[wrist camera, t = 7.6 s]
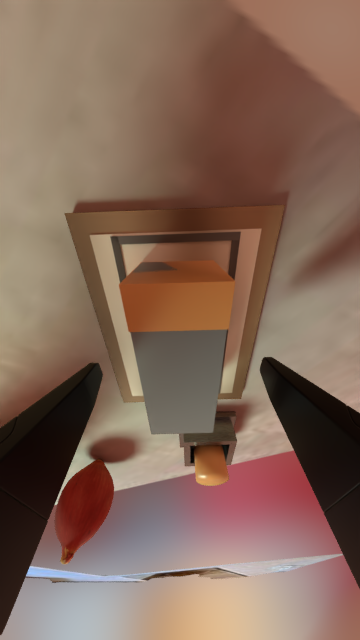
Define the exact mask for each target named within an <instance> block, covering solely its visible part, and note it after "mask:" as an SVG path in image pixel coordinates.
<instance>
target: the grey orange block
mask: <svg viewBox="0 0 360 640" xmlns="http://www.w3.org/2000/svg"><path fill="white" fill-rule="evenodd" d="M234 288H235V280H233V279H232V278H231V277H230V276H229V275H228V274H227V273H226V272H225V271H224V270H223V269H222V268H221V267H220V266H219V265H218V264H217V263H216V262H215V261H214V260H204V261H168V262H141V263H140V264H139V265H138V266H137V267H136V268H135V269H134V270H133V271H132V272H131V273H130V274H129V275H128V276H127V277H126V278H125V279H124V280H123V281H122V282H121V283H120V284H119V289H120V293H121V298H122V303H123V308H124V312H125V317H126V322H127V326H128V331H129V332H130V333H131V338H132V342H133V347H134V352H135V357H136V362H137V367H138V372H139V376H140V381H141V386H142V391H143V396H144V401H145V406H146V410H147V415H148V420H149V425H150V430H151V434H182V433H213V429H214V421H215V414H216V407H217V399H218V392H219V385H220V377H221V370H222V363H223V355H224V348H225V341H226V333H227V329H229V324H230V317H231V310H232V302H233V295H234Z"/></svg>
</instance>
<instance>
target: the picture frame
mask: <svg viewBox="0 0 360 640" xmlns="http://www.w3.org/2000/svg"><path fill="white" fill-rule="evenodd" d="M284 208H285V205H268V206H242V207H216V208H190V209H164V210H138V211H112V212H86V213H65V216H66V220H67V223H68V226H69V229H70V232H71V235H72V239H73V242H74V245H75V248H76V251H77V255H78V258H79V261H80V264H81V267H82V271H83V274H84V277H85V280H86V283H87V287H88V290H89V293H90V296H91V299H92V303H93V306H94V309H95V312H96V315H97V318H98V322H99V325H100V328H101V331H102V334H103V338H104V341H105V344H106V347H107V350H108V354H109V357H110V360H111V363H112V366H113V370H114V373H115V376H116V379H117V382H118V385H119V389H120V392H121V395H122V398H123V401H124V402H145V401H144V396H143V391H142V386H141V381H140V376H139V372H138V367H137V362H136V357H135V352H134V347H133V342H132V338H131V333H130V332H129V331H128V326H127V322H126V317H125V312H124V308H123V303H122V298H121V293H120V289H119V284H120V283H121V282H122V281H123V280H124V279H125V278H126V277H127V276H128V275H129V274H130V273H131V272H132V271H133V270H134V269H135V268H136V267H137V266H138V265H139V264H140V263H141V262H168V261H204V260H214V261H215V262H216V263H217V264H218V265H219V266H220V267H221V268H222V269H223V270H224V271H225V272H226V273H227V274H228V275H229V276H230V277H231V278H232V279H233V280H235V288H234V295H233V302H232V310H231V317H230V324H229V329H227V333H226V341H225V348H224V355H223V363H222V370H221V377H220V385H219V392H218V399H241V397H242V392H243V388H244V384H245V379H246V375H247V370H248V366H249V362H250V357H251V353H252V348H253V344H254V340H255V335H256V331H257V326H258V322H259V318H260V313H261V309H262V304H263V300H264V296H265V291H266V287H267V282H268V278H269V274H270V269H271V265H272V260H273V256H274V252H275V247H276V243H277V238H278V234H279V230H280V225H281V221H282V216H283V212H284Z"/></svg>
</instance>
